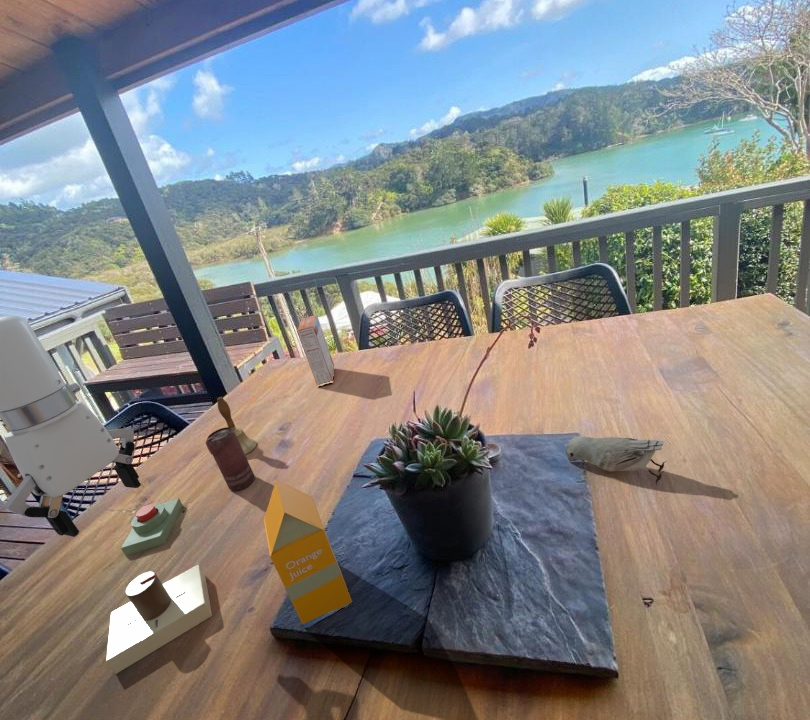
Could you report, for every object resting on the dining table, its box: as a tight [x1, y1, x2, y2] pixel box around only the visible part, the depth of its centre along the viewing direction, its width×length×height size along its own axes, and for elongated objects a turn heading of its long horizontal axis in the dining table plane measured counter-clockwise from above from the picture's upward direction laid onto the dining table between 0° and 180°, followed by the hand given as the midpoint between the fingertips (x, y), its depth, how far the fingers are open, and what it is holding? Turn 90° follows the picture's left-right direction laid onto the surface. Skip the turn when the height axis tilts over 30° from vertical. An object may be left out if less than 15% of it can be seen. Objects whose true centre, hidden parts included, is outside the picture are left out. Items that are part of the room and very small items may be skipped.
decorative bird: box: [565, 435, 667, 486], centre depth 76 cm, size 5×16×8 cm, turn 55°
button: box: [135, 503, 157, 523], centre depth 92 cm, size 4×4×2 cm
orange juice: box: [263, 478, 353, 625], centre depth 64 cm, size 8×9×20 cm
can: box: [205, 426, 255, 492], centre depth 99 cm, size 6×6×14 cm
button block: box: [120, 497, 184, 556], centre depth 93 cm, size 12×8×4 cm, turn 10°
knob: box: [124, 570, 171, 620], centre depth 68 cm, size 4×4×6 cm
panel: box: [105, 564, 213, 675], centre depth 70 cm, size 14×10×3 cm
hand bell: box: [216, 396, 258, 456], centre depth 114 cm, size 8×8×16 cm
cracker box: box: [296, 314, 335, 386], centre depth 146 cm, size 14×6×21 cm, turn 6°
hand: (104, 508), depth 64 cm, fingers open, 9 cm apart
